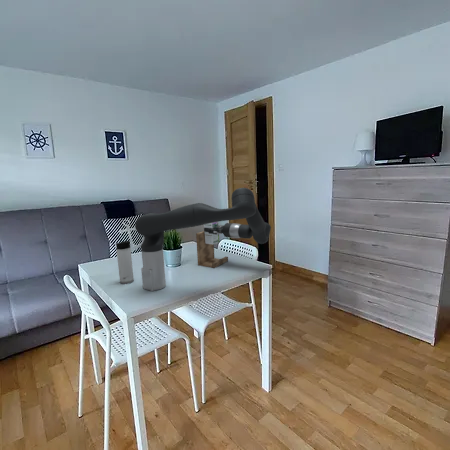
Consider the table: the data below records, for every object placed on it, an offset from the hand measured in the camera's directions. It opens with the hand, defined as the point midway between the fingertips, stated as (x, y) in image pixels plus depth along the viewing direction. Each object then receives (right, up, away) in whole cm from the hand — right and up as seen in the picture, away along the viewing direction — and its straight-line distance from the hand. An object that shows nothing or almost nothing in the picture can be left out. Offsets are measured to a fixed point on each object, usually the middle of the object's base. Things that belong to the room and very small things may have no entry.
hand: (207, 228), depth 155 cm
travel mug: (-37, -25, -21) cm, 50 cm away
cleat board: (+3, -19, +2) cm, 20 cm away
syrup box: (+2, -8, 0) cm, 9 cm away
